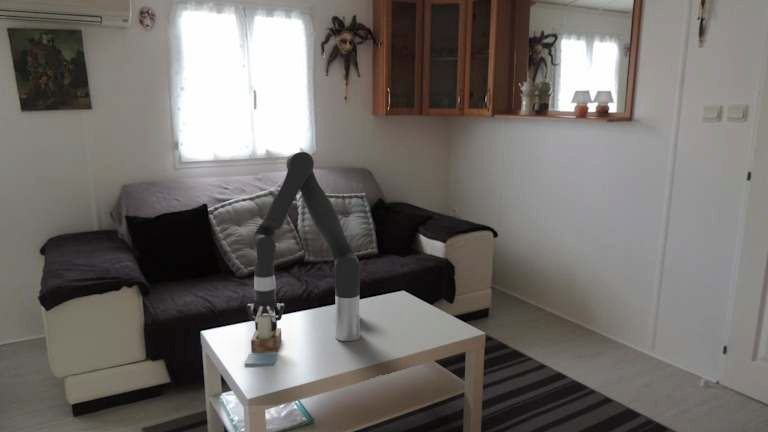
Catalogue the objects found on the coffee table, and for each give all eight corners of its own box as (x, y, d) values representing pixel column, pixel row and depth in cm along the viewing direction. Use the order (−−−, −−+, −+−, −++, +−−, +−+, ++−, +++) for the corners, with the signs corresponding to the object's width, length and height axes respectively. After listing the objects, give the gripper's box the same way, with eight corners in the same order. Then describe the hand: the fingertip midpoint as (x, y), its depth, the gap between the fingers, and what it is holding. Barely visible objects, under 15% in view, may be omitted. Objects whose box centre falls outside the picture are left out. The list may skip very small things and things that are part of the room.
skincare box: (269, 349, 206) (268, 318, 203) (257, 348, 206) (256, 317, 204) (275, 342, 212) (274, 312, 209) (264, 341, 212) (263, 311, 210)
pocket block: (281, 339, 215) (281, 328, 214) (277, 351, 204) (277, 340, 203) (256, 339, 214) (256, 328, 214) (251, 352, 203) (250, 340, 202)
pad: (277, 355, 200) (277, 353, 200) (274, 365, 193) (274, 363, 192) (248, 356, 200) (248, 353, 200) (244, 366, 192) (244, 363, 192)
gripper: (285, 283, 209) (286, 326, 212) (246, 283, 208) (248, 327, 211) (283, 289, 202) (284, 334, 205) (243, 290, 201) (244, 335, 204)
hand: (266, 330), depth 208 cm, fingers closed on skincare box, 5 cm apart
